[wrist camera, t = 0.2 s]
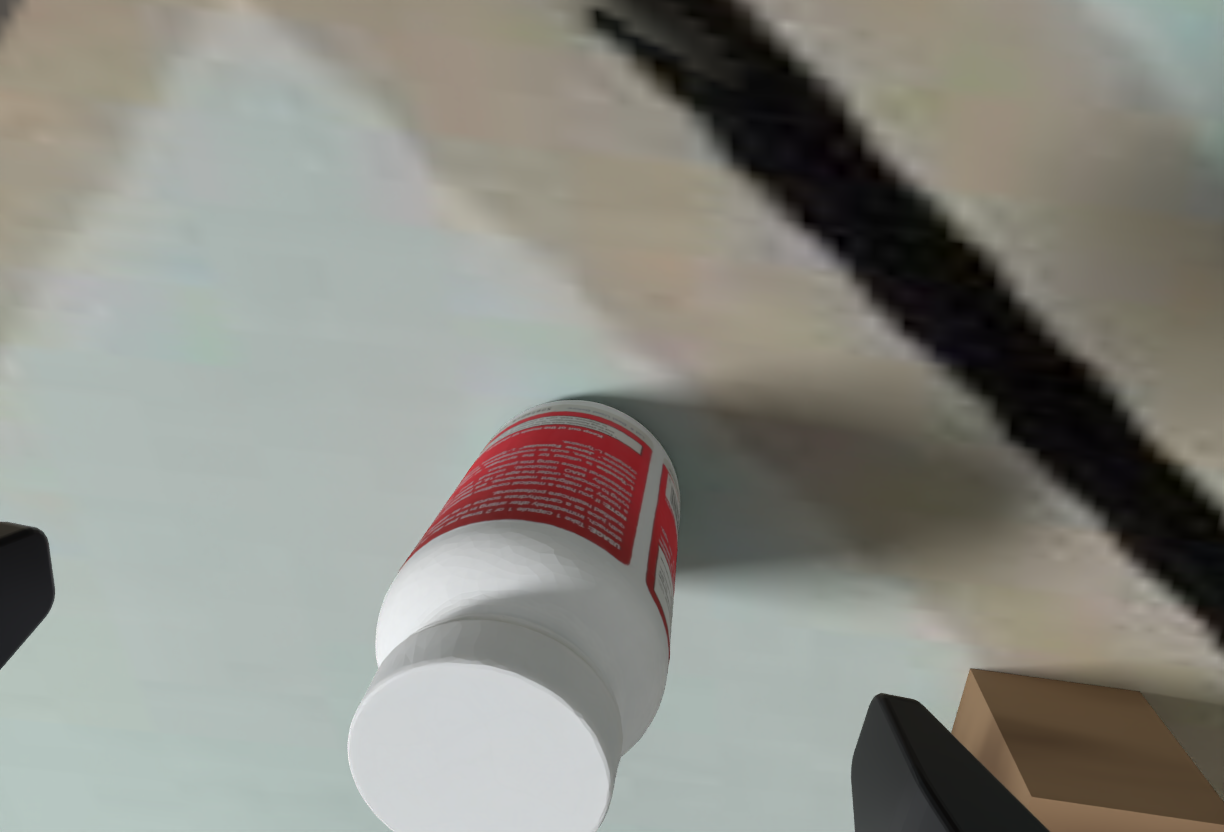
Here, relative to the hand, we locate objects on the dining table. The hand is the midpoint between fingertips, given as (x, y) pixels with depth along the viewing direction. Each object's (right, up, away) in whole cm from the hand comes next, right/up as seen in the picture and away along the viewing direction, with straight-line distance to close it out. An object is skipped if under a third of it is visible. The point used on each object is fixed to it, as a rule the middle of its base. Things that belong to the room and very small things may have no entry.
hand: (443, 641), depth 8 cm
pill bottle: (+1, 0, +15) cm, 15 cm away
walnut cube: (+15, -8, +17) cm, 24 cm away
